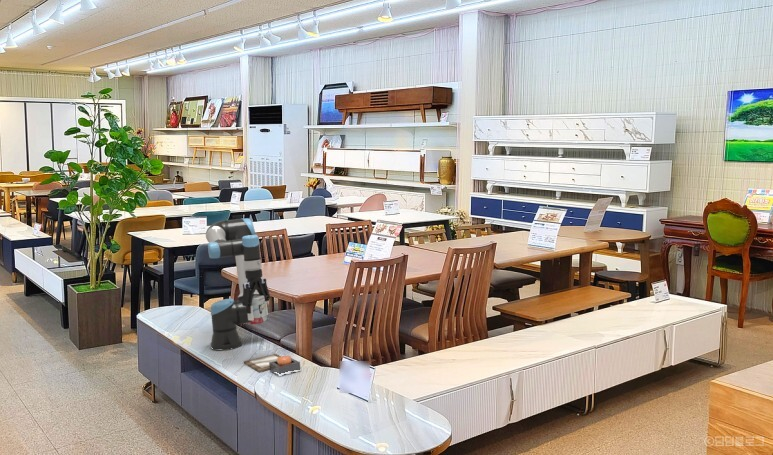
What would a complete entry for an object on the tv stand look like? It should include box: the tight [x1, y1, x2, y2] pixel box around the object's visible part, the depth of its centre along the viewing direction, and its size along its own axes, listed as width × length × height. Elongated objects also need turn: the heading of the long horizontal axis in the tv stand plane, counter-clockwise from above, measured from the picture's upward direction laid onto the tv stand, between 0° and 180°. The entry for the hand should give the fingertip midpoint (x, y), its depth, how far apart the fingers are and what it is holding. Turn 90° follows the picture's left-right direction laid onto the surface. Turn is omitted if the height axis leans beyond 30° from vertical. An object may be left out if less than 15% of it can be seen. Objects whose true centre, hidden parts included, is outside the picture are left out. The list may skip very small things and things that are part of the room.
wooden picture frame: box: [243, 353, 282, 373], centre depth 310 cm, size 18×16×1 cm
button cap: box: [277, 355, 292, 366], centre depth 297 cm, size 6×6×4 cm
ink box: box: [248, 295, 268, 325], centre depth 312 cm, size 9×5×12 cm, turn 168°
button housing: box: [269, 357, 301, 374], centre depth 297 cm, size 10×10×4 cm
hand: (258, 317), depth 312 cm, fingers closed on ink box, 9 cm apart
